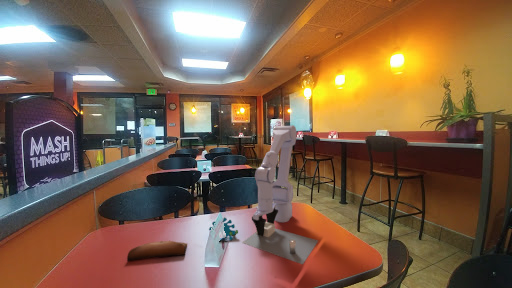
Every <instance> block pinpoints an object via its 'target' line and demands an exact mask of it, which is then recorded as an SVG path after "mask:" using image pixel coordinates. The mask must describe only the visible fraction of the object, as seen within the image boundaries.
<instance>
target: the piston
mask: <svg viewBox="0 0 512 288" xmlns="http://www.w3.org/2000/svg"><path fill="white" fill-rule="evenodd" d="M289 251H290V254H295V253H296V241H295V240H294V239H291V240H289Z"/></svg>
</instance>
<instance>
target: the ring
mask: <svg viewBox="0 0 512 288" xmlns="http://www.w3.org/2000/svg"><path fill="white" fill-rule="evenodd" d="M255 229H256V228H255ZM275 229H276V224H275V223H274V224H272V223H268V222H267V221H266V223H265V226H264V235H263V236H266V237H269V236H270V235H271V234H273V233H274V232H275ZM255 231H256V234H258V233H257V229H256V230H255Z"/></svg>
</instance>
